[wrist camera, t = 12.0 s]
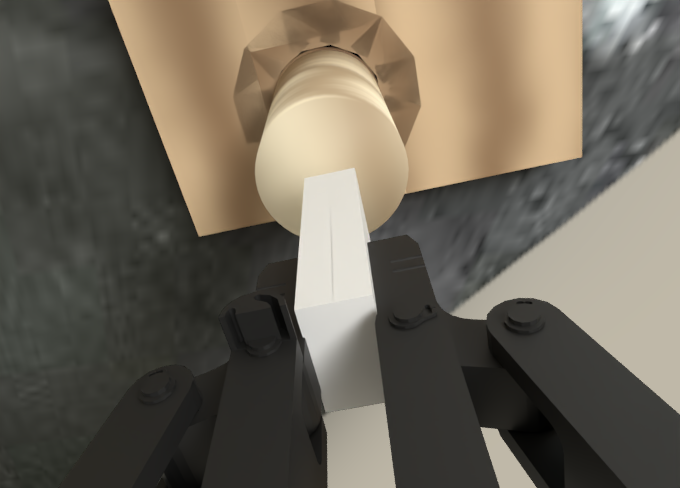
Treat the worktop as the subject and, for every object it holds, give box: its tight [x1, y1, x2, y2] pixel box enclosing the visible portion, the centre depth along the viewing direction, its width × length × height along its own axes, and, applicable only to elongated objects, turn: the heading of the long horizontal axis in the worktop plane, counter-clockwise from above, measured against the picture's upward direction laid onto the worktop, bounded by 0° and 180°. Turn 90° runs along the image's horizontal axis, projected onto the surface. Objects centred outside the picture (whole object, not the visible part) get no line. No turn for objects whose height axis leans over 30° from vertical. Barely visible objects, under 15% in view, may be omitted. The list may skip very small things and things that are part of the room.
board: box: [108, 0, 582, 237], centre depth 29 cm, size 22×16×3 cm
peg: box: [255, 47, 409, 236], centre depth 25 cm, size 6×6×13 cm
